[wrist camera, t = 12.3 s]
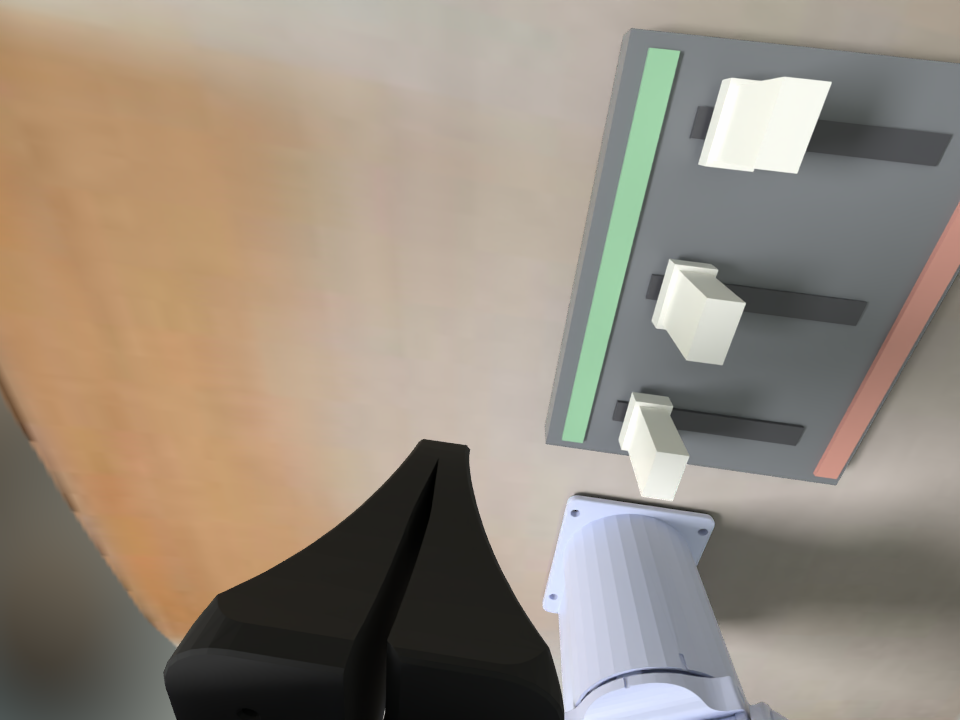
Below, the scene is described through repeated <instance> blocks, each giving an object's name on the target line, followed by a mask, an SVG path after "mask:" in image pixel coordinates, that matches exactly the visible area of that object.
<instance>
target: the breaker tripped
mask: <svg viewBox="0 0 960 720" xmlns="http://www.w3.org/2000/svg"><path fill="white" fill-rule="evenodd" d="M717 273H718V269H717V268H716V267H714V266H713V265H712V264H707V263H699V262H691V261H683V260H675V259H669V262H668V265H667V269H666V272H665V276H664V279H663V283H662V286H661V289H660V293H659V296H658V300H657V303H656V307H655V310H654V314H653V317H652V323H653V324H654V326H655V328H657V329H665V330H667V332H668V333H669V335H670V337H671V338H672V340H673V341H674V343H675V344H676V346H677V347H678V349H679V350H680V352H681V353H682V355H683V356H684V358H685V359H686V360H687V361H694V362H702V363H709V364H717V365H723V363H724V360H725V357H726V355H727V352H728V350H729V347H730V344H731V342H732V339H733V336H734V334H735V331H736V328H737V326H738V323H739V321H740V318H741V315H742V313H743V310H744V307H745V305H746V303H745V302H744V301H743V300H742V299H741V298H739V297H738V296H737V295H736V294H734V293H733V292H732V291H731V290H730V289H728V288H727V287H726V286H725V285H724V284H722V283H721V282H720V281H719V280H718V279H716V276H717Z"/></svg>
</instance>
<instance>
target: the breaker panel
mask: <svg viewBox="0 0 960 720" xmlns="http://www.w3.org/2000/svg"><path fill="white" fill-rule="evenodd" d="M780 77H792V78H801V79H810V80H819V81H828V82H832V83H831V86H830V89H829V91H828V94H827V96H826V99H825V102H824V104H823V107H822V110H821V112H820V115H819V117H818V120H817V123H816V125H815V128H814V131H813V133H812V136H811V138H810V141H809V144H808V146H807V149H806V152H805V154H804V157H803V159H802V162H801V165H800V167H799V170H798V173H797V174H795V173H786V172H778V171H770V170H761V169H754V171H753V172H750V171H741V170H733V169H724V168H716V167H707V166H702V165H698V163H699V159H700V156H701V153H702V149H703V146H704V142H705V139H706V135H707V132H708V128H709V125H710V121H711V118H712V115H713V111H714V108H715V104H716V101H717V97H718V94H719V90H720V87H721V83H722V80H724V79H728V78H739V79H748V80H757V81H764V80H769V79H774V78H780ZM669 259H675V260H683V261H691V262H699V263H707V264H712V265H713V266H714V267H716V268H717V269H718V273H717V276H716V279H718V280H719V281H720V282H721V283H722V284H724V285H725V286H726V287H727V288H728V289H730V290H731V291H732V292H733V293H734V294H736V295H737V296H738V297H739V298H741V299H742V300H743V301H744V302H745V303H746V305H745V307H744V310H743V313H742V315H741V318H740V321H739V323H738V326H737V328H736V331H735V334H734V336H733V339H732V342H731V344H730V347H729V350H728V352H727V355H726V357H725V360H724V363H723V365H717V364H709V363H702V362H694V361H687V360H686V359H685V358H684V356H683V355H682V353H681V352H680V350H679V349H678V347H677V346H676V344H675V343H674V341H673V340H672V338H671V337H670V335H669V333H668V332H667V330H665V329H657V328H655V326H654V324H653V323H652V317H653V314H654V310H655V307H656V303H657V300H658V296H659V293H660V289H661V286H662V283H663V279H664V276H665V272H666V269H667V265H668V262H669ZM959 271H960V64H959V63H950V62H940V61H931V60H922V59H913V58H903V57H894V56H885V55H875V54H866V53H857V52H847V51H838V50H829V49H820V48H810V47H801V46H792V45H782V44H773V43H764V42H754V41H745V40H736V39H726V38H717V37H708V36H699V35H689V34H680V33H671V32H661V31H652V30H643V29H633V28H631V29H630V30H629V31H628V32H627V33H626V34H625V35H624V36H623V40H622V45H621V50H620V55H619V60H618V65H617V70H616V75H615V80H614V85H613V90H612V95H611V100H610V105H609V110H608V115H607V120H606V125H605V130H604V135H603V140H602V145H601V150H600V155H599V160H598V165H597V170H596V175H595V180H594V185H593V190H592V195H591V200H590V205H589V210H588V215H587V220H586V225H585V230H584V235H583V240H582V245H581V250H580V254H579V259H578V264H577V269H576V274H575V279H574V284H573V289H572V294H571V299H570V304H569V309H568V314H567V319H566V324H565V329H564V334H563V339H562V344H561V349H560V354H559V359H558V364H557V369H556V374H555V379H554V384H553V389H552V394H551V399H550V404H549V409H548V414H547V419H546V424H545V437H546V444H549V445H556V446H563V447H570V448H577V449H584V450H591V451H598V452H605V453H612V454H620V455H627V456H629V453H628V451H626V450H621V447H620V443H619V440H618V439H619V436H620V432H621V429H622V425H623V422H624V418H625V415H626V412H627V408H628V405H629V401H630V398H631V394H632V392H637V393H644V394H651V395H659V396H666V397H669V399H670V401H671V403H672V405H673V409H672V412H671V415H670V416H671V418H672V421H673V423H674V425H675V427H676V429H677V431H678V433H679V435H680V437H681V439H682V441H683V444H684V446H685V448H686V450H687V452H688V454H689V459H688V462H687V464H690V465H697V466H704V467H711V468H718V469H725V470H732V471H739V472H746V473H753V474H760V475H767V476H774V477H781V478H788V479H795V480H802V481H809V482H816V483H823V484H830V485H837V483H838V481H839V480H840V478H841V476H842V474H843V473H844V471H845V469H846V467H847V466H848V464H849V462H850V460H851V459H852V457H853V455H854V453H855V452H856V450H857V448H858V447H859V445H860V443H861V441H862V440H863V438H864V436H865V434H866V433H867V431H868V429H869V427H870V426H871V424H872V422H873V421H874V419H875V417H876V415H877V414H878V412H879V410H880V408H881V407H882V405H883V403H884V401H885V400H886V398H887V396H888V394H889V393H890V391H891V389H892V388H893V386H894V384H895V382H896V381H897V379H898V377H899V375H900V374H901V372H902V370H903V368H904V367H905V365H906V363H907V361H908V360H909V358H910V356H911V355H912V353H913V351H914V349H915V348H916V346H917V344H918V342H919V341H920V339H921V337H922V335H923V334H924V332H925V330H926V328H927V327H928V325H929V323H930V322H931V320H932V318H933V316H934V315H935V313H936V311H937V309H938V308H939V306H940V304H941V302H942V301H943V299H944V297H945V296H946V294H947V292H948V290H949V289H950V287H951V285H952V283H953V282H954V280H955V278H956V276H957V275H958V273H959Z"/></svg>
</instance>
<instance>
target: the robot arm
mask: <svg viewBox="0 0 960 720" xmlns="http://www.w3.org/2000/svg"><path fill="white" fill-rule="evenodd" d="M469 454H470V449H469V448H468V447H467V445H461V444H454V443H447V442H440V441H433V440H426V439H423V440H421V441H420V442H419V443H418V444H417V446H416V447H415V448H414V450H413V451H412V452H411V454H410V455H409V456H408V457H407V458H406V460H405V461H404V462H403V463H402V464H401V466H400V467H399V468H398V469H397V470H396V471H395V472H394V473H393V474H392V476H391V477H390V478H389V479H388V480H387V481H386V482H385V483H384V484H383V485H382V486H381V487H380V488H379V489H378V490H377V491H376V492H375V493H374V494H373V495H372V496H371V497H370V498H369V499H368V500H367V501H366V502H364V503H363V504H362V505H361V506H360V507H359V508H358V509H357V510H356V511H354V512H353V513H352V514H351V515H350V516H348V517H347V518H346V519H345V520H343V521H342V522H341V523H340V524H338V525H337V526H336V527H335V528H333V529H332V530H330V531H329V532H328V533H326V534H325V535H323V536H322V537H321V538H319V539H318V540H317V541H315V542H314V543H312V544H311V545H309V546H308V547H306V548H305V549H303V550H302V551H300V552H298V553H297V554H295V555H293V556H292V557H290V558H288V559H286V560H285V561H283V562H281V563H280V564H278V565H276V566H275V567H273V568H271V569H269V570H268V571H266V572H264V573H262V574H260V575H258V576H256V577H254V578H252V579H250V580H248V581H246V582H244V583H241V584H239V585H237V586H235V587H233V588H231V589H229V590H227V591H225V592H222V593H220V594H218V595H217V596H216V597H215V598H214V599H213V601H212V602H211V603H210V604H209V606H208V607H207V608H206V609H205V610H204V611H203V612H202V614H201V615H200V616H199V618H198V619H197V620H196V621H195V623H194V624H193V625H192V627H191V628H190V630H189V631H188V633H187V634H186V636H185V637H184V639H183V640H182V642H181V643H180V644H179V646H178V647H177V649H176V650H175V652H174V653H173V655H172V657H171V658H170V659H169V661H168V662H167V665H166V667H165V670H164V681H165V686H166V690H167V692H168V695H169V699H170V701H171V705H172V707H173V710H174V713H175V716H176V719H177V720H788V719H787V718H785V717H784V716H782V715H781V714H779V713H778V712H776V711H774V710H772V709H771V708H770V706H769V705H768V704H766V703H764V702H759V703H757V704H754V705H749V703H748V701H747V700H746V698H745V695H744V692H743V690H742V687H741V684H740V682H739V679H738V676H737V674H736V671H735V668H734V666H733V663H732V660H731V658H730V655H729V652H728V650H727V647H726V644H725V642H724V639H723V636H722V634H721V631H720V628H719V626H718V623H717V620H716V618H715V615H714V612H713V609H712V607H711V604H710V601H709V599H708V596H707V593H706V591H705V588H704V585H703V583H702V580H701V577H700V575H699V572H698V569H697V565H698V562H699V560H700V558H701V556H702V553H703V551H704V549H705V547H706V544H707V542H708V540H709V538H710V536H711V533H712V531H713V529H714V527H715V522H714V520H713V518H712V517H711V516H710V515H708V514H702V513H696V512H689V511H682V510H675V509H668V508H661V507H655V506H648V505H641V504H634V503H627V502H620V501H613V500H607V499H600V498H593V497H586V496H579V495H574V496H571V497H570V498H569V499H568V501H567V505H566V509H565V513H564V517H563V521H562V525H561V529H560V533H559V538H558V542H557V546H556V550H555V554H554V558H553V562H552V566H551V570H550V574H549V578H548V582H547V586H546V590H545V594H544V598H543V608H544V610H546V611H548V612H552V613H559V631H560V648H561V666H562V684H563V700H562V694H561V689H560V684H559V680H558V676H557V673H556V669H555V665H554V662H553V659H552V655H551V652H550V649H549V647H548V645H547V644H546V643H545V641H544V640H543V638H542V637H541V636H540V634H539V633H538V631H537V630H536V628H535V627H534V625H533V624H532V622H531V621H530V619H529V618H528V616H527V615H526V613H525V611H524V610H523V608H522V607H521V605H520V603H519V602H518V600H517V598H516V597H515V595H514V593H513V591H512V589H511V587H510V585H509V583H508V582H507V580H506V578H505V576H504V574H503V572H502V570H501V568H500V566H499V564H498V562H497V559H496V557H495V555H494V553H493V550H492V548H491V545H490V543H489V541H488V538H487V535H486V533H485V530H484V527H483V524H482V521H481V518H480V514H479V511H478V507H477V504H476V500H475V495H474V491H473V487H472V481H471V475H470V467H469ZM573 510H578V511H577V512H573ZM700 529H703V530H700ZM563 701H564V706H563ZM564 709H565V713H564ZM384 711H385V715H384ZM383 716H384V719H383Z"/></svg>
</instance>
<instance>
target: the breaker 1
mask: <svg viewBox="0 0 960 720" xmlns="http://www.w3.org/2000/svg"><path fill="white" fill-rule="evenodd" d="M672 409H673V405H672V403H671V401H670V399H669V397H666V396H659V395H651V394H644V393H637V392H632V394H631V398H630V401H629V405H628V408H627V412H626V415H625V418H624V422H623V425H622V429H621V432H620V436H619V439H618V440H619V443H620V447H621V450H626V451H628V453H629V456H630V459H631V463H632V466H633V469H634V473H635V476H636V479H637V483H638V486H639V489H640V493H641V496H642V497H648V498H655V499H661V500H668V501H673V499H674V496H675V493H676V491H677V488H678V485H679V483H680V480H681V478H682V475H683V472H684V470H685V467H686V464H687V462H688V459H689V454H688V452H687V450H686V448H685V446H684V444H683V441H682V439H681V437H680V435H679V433H678V431H677V429H676V427H675V425H674V423H673V421H672V418H671V416H670V415H671V412H672Z"/></svg>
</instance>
